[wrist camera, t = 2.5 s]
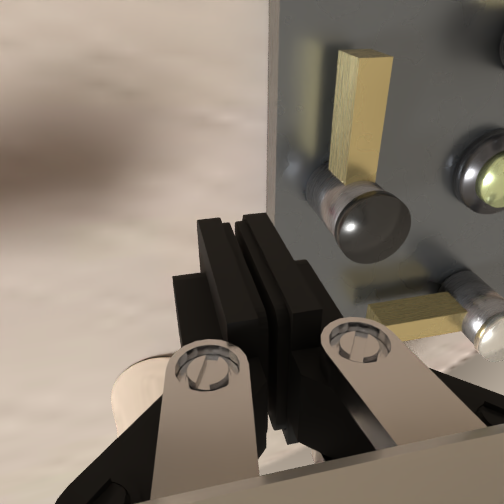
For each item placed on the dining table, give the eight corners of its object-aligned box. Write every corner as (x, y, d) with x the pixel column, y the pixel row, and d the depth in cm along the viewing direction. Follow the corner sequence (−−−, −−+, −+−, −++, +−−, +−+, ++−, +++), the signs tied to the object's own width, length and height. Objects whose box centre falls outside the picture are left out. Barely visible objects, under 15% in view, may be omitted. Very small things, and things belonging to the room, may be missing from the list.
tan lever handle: (360, 212, 24) (404, 259, 21) (302, 219, 24) (336, 268, 20) (382, 45, 20) (443, 64, 16) (312, 48, 19) (358, 69, 16)
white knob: (486, 266, 29) (542, 312, 25) (473, 307, 30) (523, 356, 27) (364, 284, 27) (404, 337, 23) (358, 326, 29) (394, 381, 25)
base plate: (269, -51, 19) (293, -53, 16) (596, -51, 22) (662, -53, 19) (264, 326, 29) (279, 362, 27) (486, 290, 33) (518, 319, 30)
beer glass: (228, 398, 32) (296, 672, 20) (137, 441, 32) (148, 740, 20) (185, 333, 28) (234, 623, 16) (81, 381, 28) (50, 708, 16)
